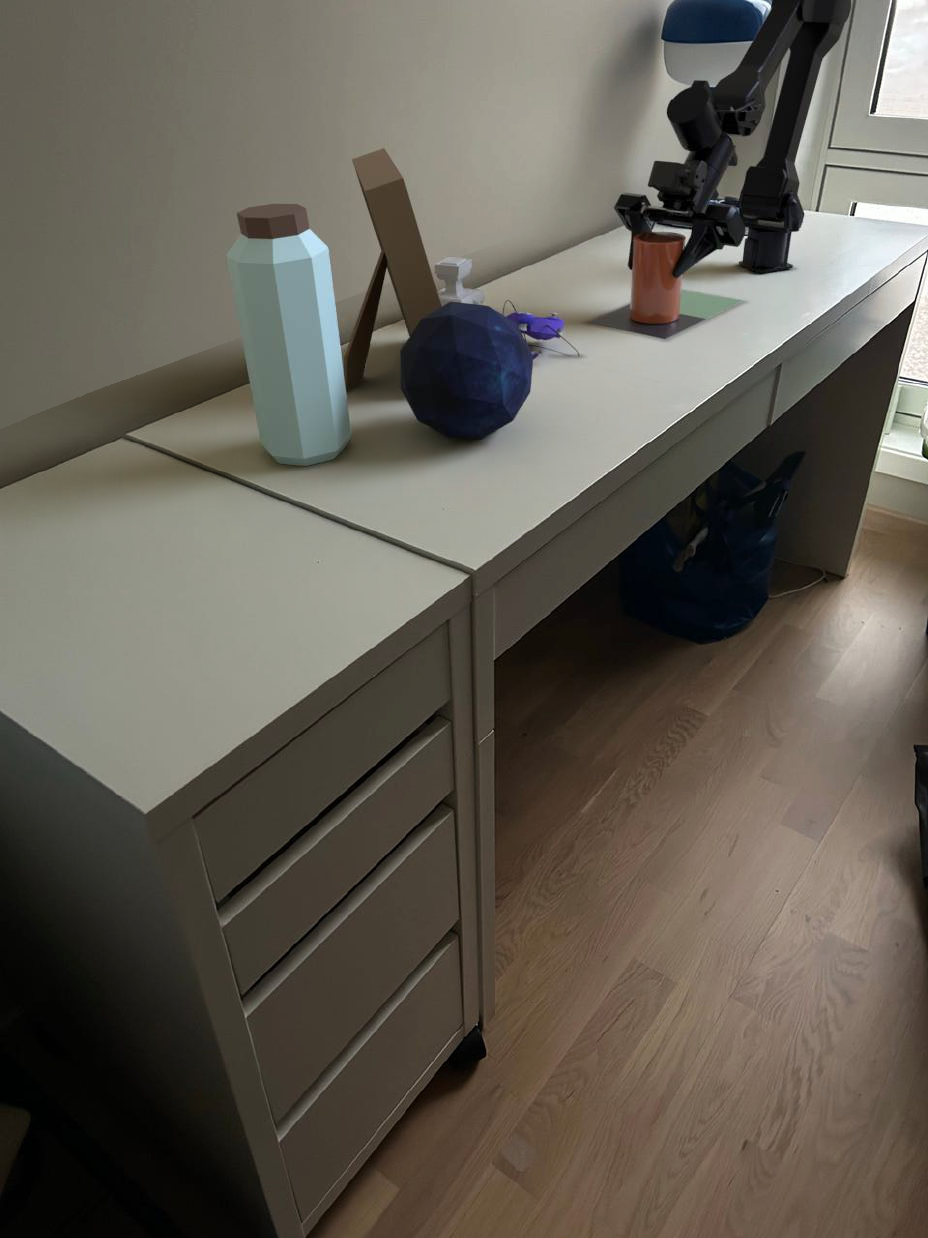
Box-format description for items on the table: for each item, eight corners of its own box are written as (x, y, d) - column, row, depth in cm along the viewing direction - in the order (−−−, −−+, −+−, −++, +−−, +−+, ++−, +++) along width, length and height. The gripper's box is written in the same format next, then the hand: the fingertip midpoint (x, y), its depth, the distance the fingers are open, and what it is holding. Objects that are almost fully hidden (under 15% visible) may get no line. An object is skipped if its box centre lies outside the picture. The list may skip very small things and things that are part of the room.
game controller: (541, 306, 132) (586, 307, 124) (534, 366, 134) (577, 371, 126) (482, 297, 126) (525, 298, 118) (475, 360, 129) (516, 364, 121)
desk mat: (668, 288, 149) (668, 287, 149) (742, 301, 142) (742, 300, 141) (588, 323, 137) (588, 321, 137) (665, 340, 129) (665, 338, 129)
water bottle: (266, 435, 109) (225, 203, 95) (353, 428, 109) (325, 196, 95) (258, 473, 101) (212, 225, 86) (352, 465, 101) (321, 217, 87)
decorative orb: (552, 357, 110) (470, 255, 103) (567, 407, 98) (474, 295, 91) (459, 432, 115) (375, 339, 108) (461, 488, 103) (367, 387, 96)
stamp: (418, 322, 141) (414, 263, 136) (441, 309, 146) (437, 252, 141) (471, 329, 137) (468, 269, 132) (492, 315, 142) (490, 257, 137)
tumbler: (647, 306, 141) (652, 228, 135) (688, 314, 137) (695, 234, 131) (619, 318, 137) (623, 238, 131) (661, 327, 133) (667, 245, 127)
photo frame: (440, 338, 134) (428, 144, 120) (465, 393, 117) (454, 173, 102) (336, 349, 133) (311, 153, 118) (346, 406, 115) (317, 184, 101)
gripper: (624, 130, 132) (574, 229, 131) (745, 138, 121) (691, 247, 121) (652, 181, 141) (605, 274, 140) (767, 194, 130) (717, 294, 130)
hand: (651, 272), depth 133 cm, fingers closed on tumbler, 7 cm apart
